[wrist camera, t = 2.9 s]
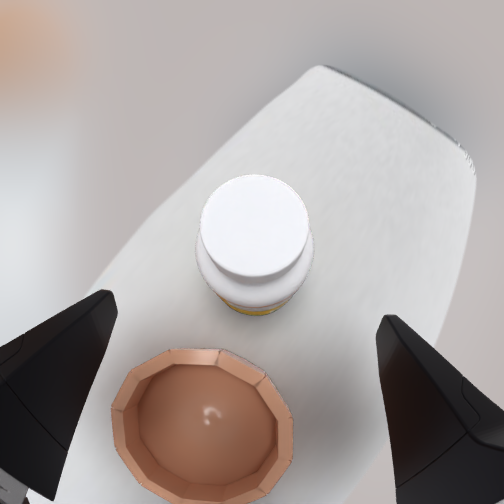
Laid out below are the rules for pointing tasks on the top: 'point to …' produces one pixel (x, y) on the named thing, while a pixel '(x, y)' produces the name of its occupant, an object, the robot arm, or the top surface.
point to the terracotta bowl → (202, 427)
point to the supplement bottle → (254, 243)
